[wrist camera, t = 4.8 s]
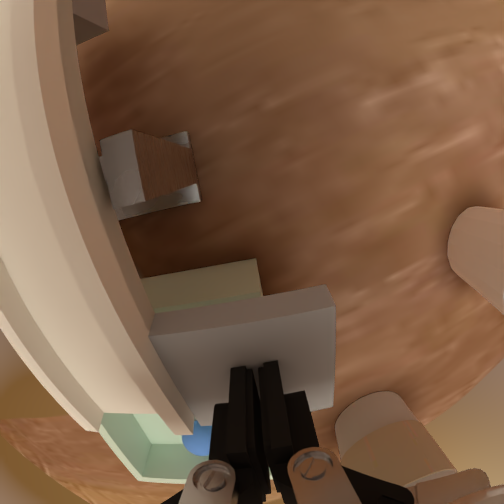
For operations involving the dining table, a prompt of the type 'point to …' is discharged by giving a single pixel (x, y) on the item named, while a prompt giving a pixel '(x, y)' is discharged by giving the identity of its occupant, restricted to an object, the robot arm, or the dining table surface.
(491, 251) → the shot glass
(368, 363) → the dining table surface
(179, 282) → the bin
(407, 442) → the coffee cup
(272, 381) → the robot arm
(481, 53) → the dining table surface
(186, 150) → the lever stand
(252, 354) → the lever
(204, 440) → the ball
